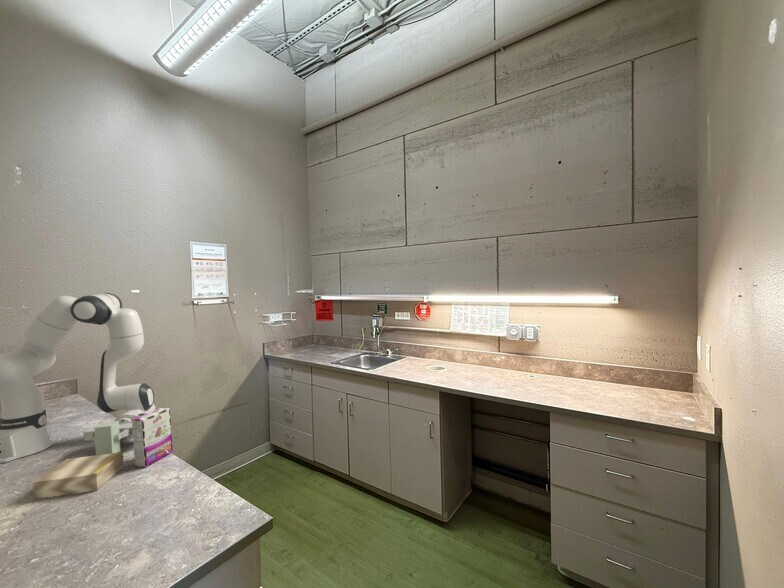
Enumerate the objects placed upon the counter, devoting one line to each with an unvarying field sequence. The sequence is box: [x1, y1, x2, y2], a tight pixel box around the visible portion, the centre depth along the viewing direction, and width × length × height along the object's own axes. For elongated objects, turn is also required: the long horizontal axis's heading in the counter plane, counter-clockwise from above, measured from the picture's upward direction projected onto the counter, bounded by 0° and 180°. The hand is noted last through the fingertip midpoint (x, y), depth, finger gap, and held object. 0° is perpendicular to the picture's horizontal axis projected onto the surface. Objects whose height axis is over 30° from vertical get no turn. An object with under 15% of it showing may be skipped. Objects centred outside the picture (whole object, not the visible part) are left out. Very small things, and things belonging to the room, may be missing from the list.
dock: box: [32, 450, 124, 500], centre depth 107 cm, size 16×14×5 cm
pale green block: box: [94, 420, 121, 456], centre depth 122 cm, size 5×5×12 cm
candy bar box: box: [132, 407, 174, 468], centre depth 120 cm, size 11×5×16 cm, turn 168°
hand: (106, 438), depth 122 cm, fingers closed on pale green block, 5 cm apart
